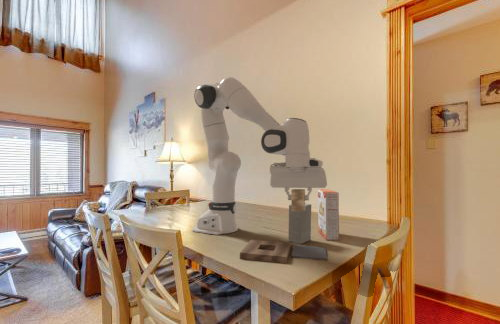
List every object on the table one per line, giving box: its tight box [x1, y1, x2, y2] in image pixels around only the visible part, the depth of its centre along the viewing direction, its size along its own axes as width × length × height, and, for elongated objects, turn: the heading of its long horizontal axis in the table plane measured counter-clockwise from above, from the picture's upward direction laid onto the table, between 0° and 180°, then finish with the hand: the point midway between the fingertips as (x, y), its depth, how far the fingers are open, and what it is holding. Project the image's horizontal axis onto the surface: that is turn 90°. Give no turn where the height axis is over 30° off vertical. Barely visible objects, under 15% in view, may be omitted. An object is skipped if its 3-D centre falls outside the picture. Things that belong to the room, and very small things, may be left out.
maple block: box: [290, 188, 306, 212], centre depth 91 cm, size 4×4×8 cm
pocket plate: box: [239, 239, 292, 264], centre depth 91 cm, size 16×16×2 cm
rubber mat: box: [291, 244, 328, 261], centre depth 91 cm, size 12×12×1 cm
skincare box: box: [287, 202, 312, 245], centre depth 106 cm, size 8×7×16 cm
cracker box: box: [317, 188, 340, 241], centre depth 114 cm, size 14×6×21 cm, turn 178°
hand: (298, 200), depth 91 cm, fingers closed on maple block, 4 cm apart
